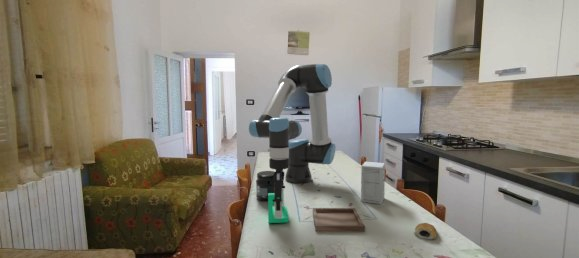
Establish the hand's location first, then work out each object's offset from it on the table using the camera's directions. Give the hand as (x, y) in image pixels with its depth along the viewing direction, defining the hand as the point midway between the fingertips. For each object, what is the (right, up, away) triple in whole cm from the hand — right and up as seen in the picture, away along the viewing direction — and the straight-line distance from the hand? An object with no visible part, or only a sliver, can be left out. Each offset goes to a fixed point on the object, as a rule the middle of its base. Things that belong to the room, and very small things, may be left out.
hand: (279, 210), depth 111 cm
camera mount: (-1, -3, +1) cm, 3 cm away
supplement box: (+42, -1, +20) cm, 47 cm away
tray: (+22, -3, -3) cm, 22 cm away
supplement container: (-6, -1, +23) cm, 24 cm away
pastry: (+51, -5, -13) cm, 53 cm away
